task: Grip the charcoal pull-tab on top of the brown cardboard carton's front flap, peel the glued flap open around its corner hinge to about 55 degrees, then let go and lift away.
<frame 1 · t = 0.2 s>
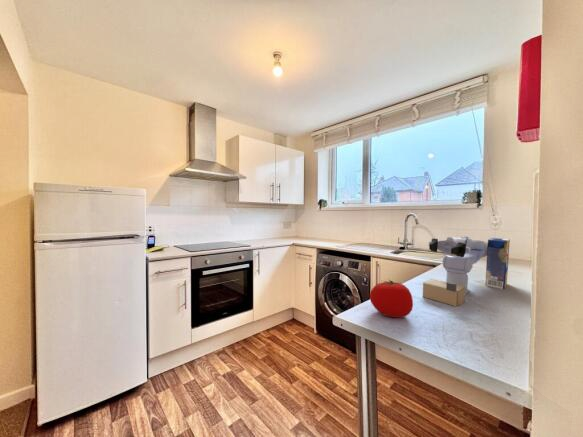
hand: (440, 248, 93), 21 cm above the counter, tool horizontal, fingers open, 7 cm apart
beverage box: (496, 285, 116), on the counter
tomato: (390, 314, 84), on the counter
carton flap: (438, 290, 95), point 4 cm above the counter, hinge at 0.0°
carton: (443, 298, 98), on the counter
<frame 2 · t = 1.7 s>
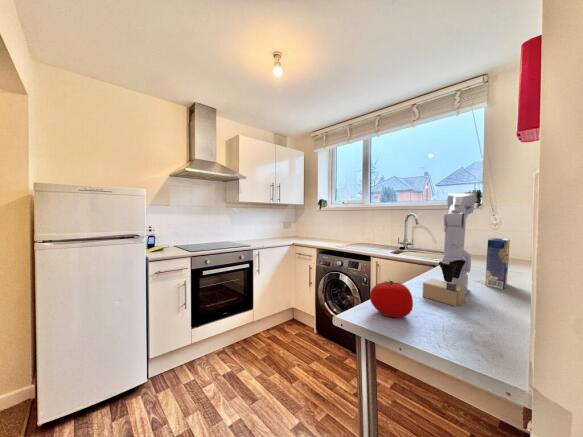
hand: (451, 279, 91), 10 cm above the counter, tool pointing down, fingers open, 7 cm apart
nothing on the counter moved.
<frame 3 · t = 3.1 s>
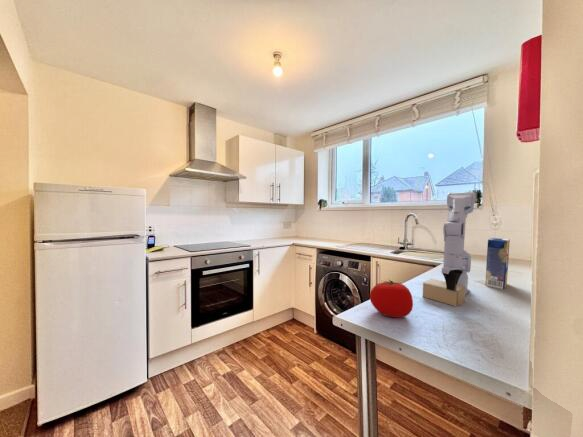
hand: (451, 288, 91), 6 cm above the counter, tool pointing down, fingers closed, pressing on carton flap
carton flap: (438, 290, 95), point 4 cm above the counter, hinge at 0.0°, touching gripper
everything else where it was.
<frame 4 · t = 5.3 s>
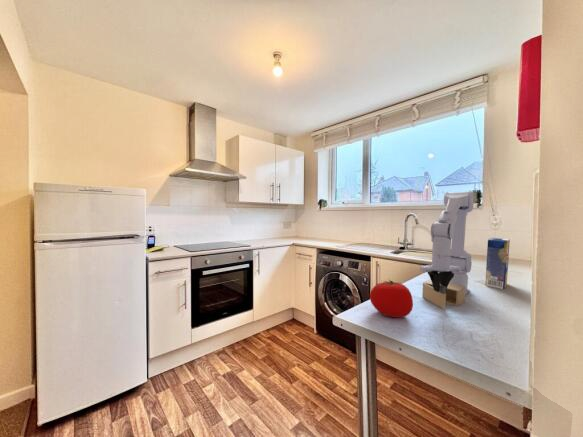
hand: (439, 290, 89), 6 cm above the counter, tool pointing down, fingers closed
carton flap: (433, 292, 94), point 4 cm above the counter, hinge at 31.3°, touching gripper
everything else where it was.
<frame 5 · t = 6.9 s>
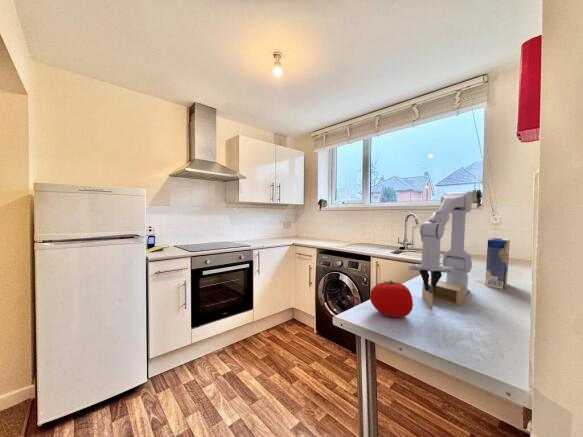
hand: (429, 290, 90), 6 cm above the counter, tool pointing down, fingers closed
carton flap: (426, 291, 94), point 4 cm above the counter, hinge at 52.9°, touching gripper
everything else where it was.
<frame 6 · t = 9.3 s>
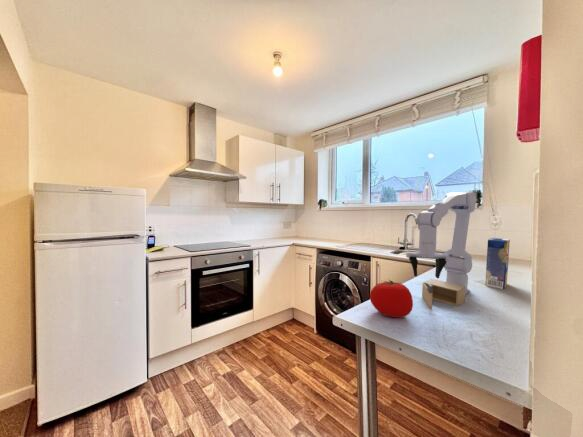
hand: (426, 276, 94), 10 cm above the counter, tool pointing down, fingers open, 7 cm apart
carton flap: (426, 291, 94), point 4 cm above the counter, hinge at 53.6°
everything else where it was.
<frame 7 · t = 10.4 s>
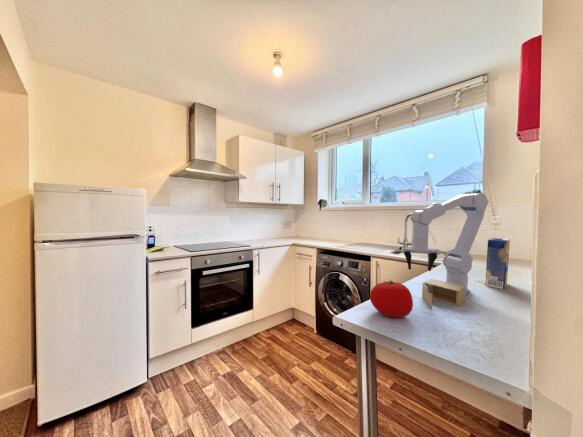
hand: (419, 269, 103), 10 cm above the counter, tool pointing down, fingers open, 7 cm apart
nothing on the counter moved.
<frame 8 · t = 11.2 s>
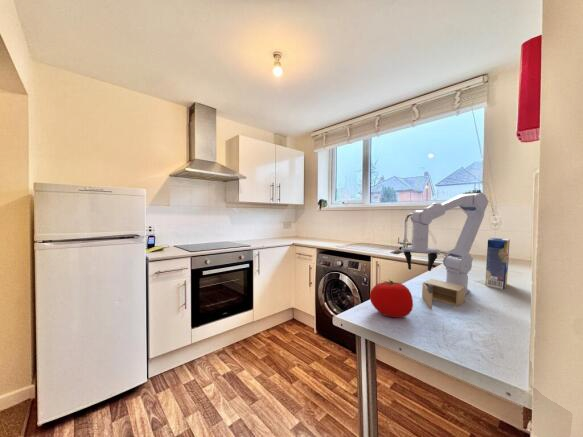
hand: (419, 269, 103), 10 cm above the counter, tool pointing down, fingers open, 7 cm apart
nothing on the counter moved.
at the end: carton flap at +54° (first picture: +0°); the gripper is holding nothing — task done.
